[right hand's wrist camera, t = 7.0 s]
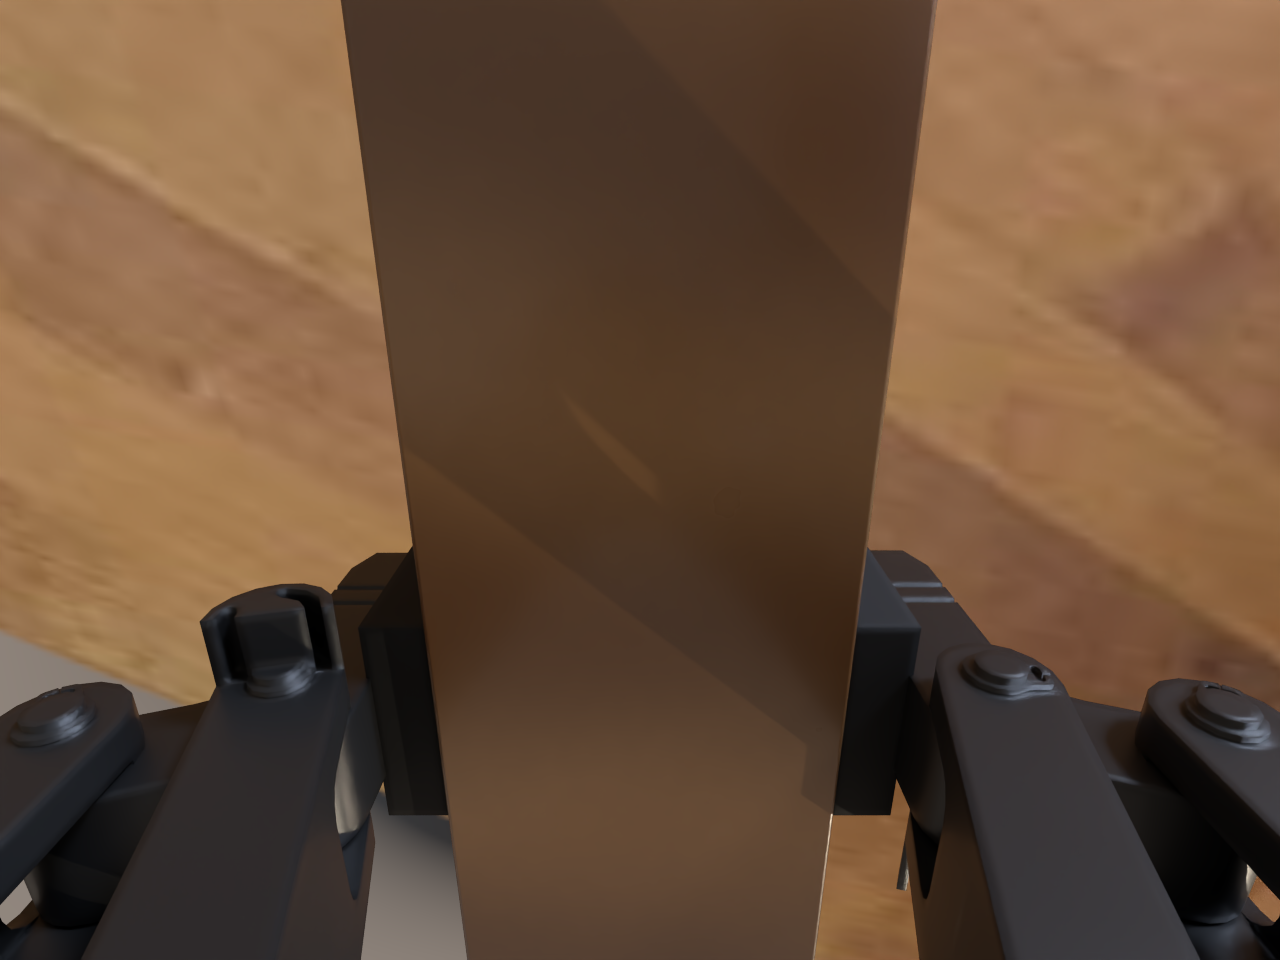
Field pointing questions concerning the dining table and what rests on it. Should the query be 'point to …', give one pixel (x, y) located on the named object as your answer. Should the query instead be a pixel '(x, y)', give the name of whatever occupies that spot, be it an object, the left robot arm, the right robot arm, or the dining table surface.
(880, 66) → the post
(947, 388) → the dining table surface
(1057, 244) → the dining table surface
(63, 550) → the dining table surface
